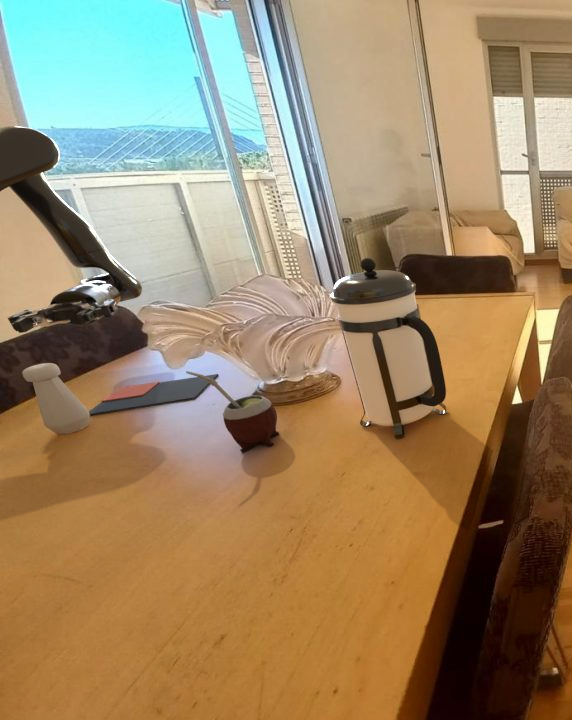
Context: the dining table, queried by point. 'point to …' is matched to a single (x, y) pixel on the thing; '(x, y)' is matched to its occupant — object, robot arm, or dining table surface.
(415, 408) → the coffee press
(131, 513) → the dining table surface
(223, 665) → the dining table surface
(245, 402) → the mate gourd
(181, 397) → the dark grey flat slab
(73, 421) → the salt shaker
